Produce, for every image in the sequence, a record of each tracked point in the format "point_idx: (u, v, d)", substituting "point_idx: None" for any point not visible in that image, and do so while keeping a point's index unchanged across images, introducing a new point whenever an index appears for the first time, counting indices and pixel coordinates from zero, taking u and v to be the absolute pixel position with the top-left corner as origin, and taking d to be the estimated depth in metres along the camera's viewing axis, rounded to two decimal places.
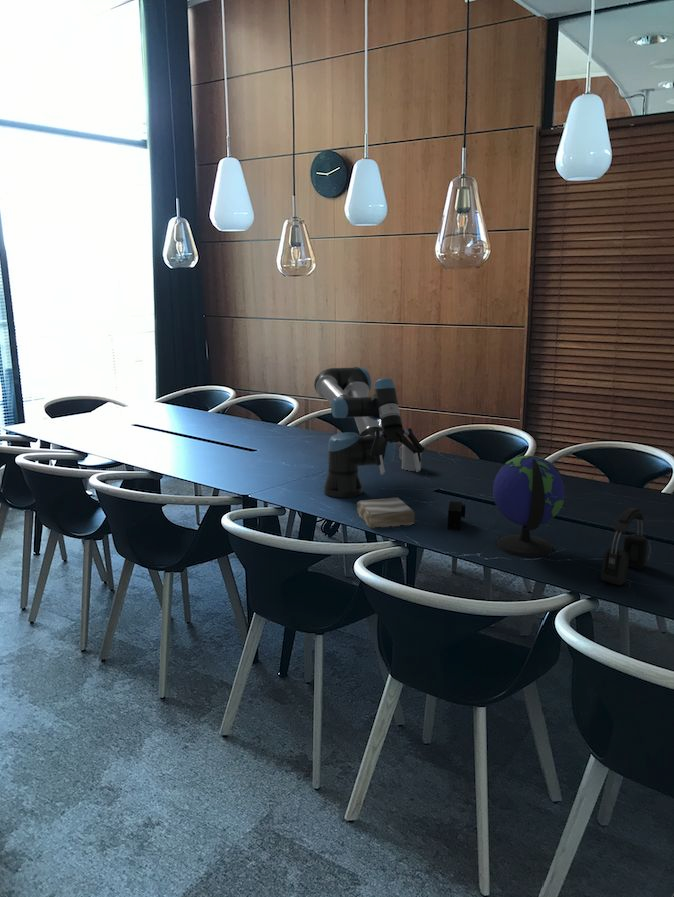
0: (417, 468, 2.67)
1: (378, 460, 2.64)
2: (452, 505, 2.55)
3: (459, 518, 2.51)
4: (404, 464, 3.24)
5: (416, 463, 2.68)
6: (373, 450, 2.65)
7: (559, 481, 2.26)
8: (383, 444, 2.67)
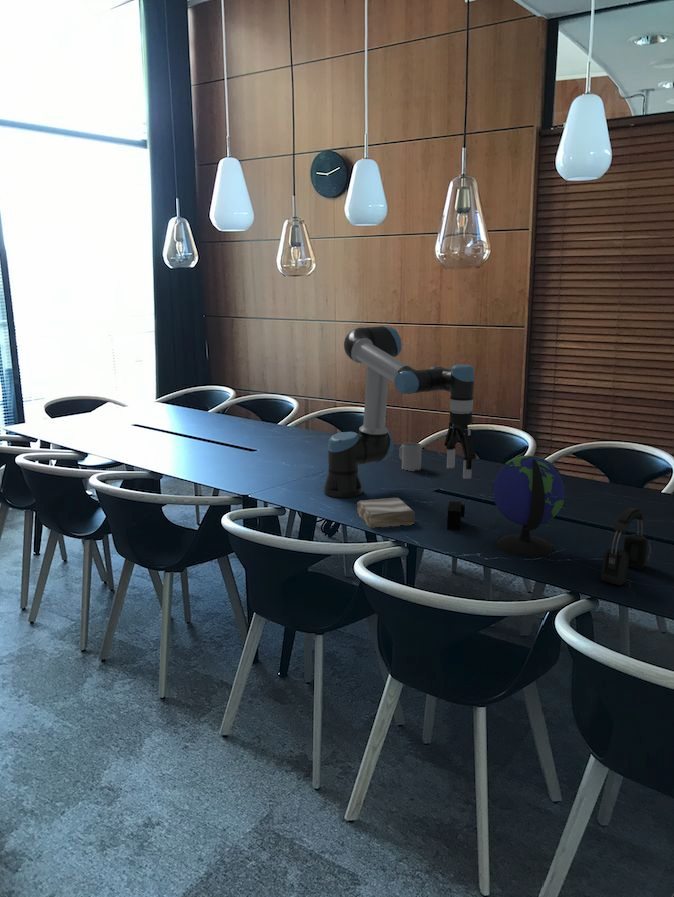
0: (451, 465, 2.58)
1: None
2: (452, 505, 2.55)
3: (459, 518, 2.51)
4: (404, 464, 3.24)
5: (452, 460, 2.57)
6: None
7: (559, 481, 2.26)
8: None
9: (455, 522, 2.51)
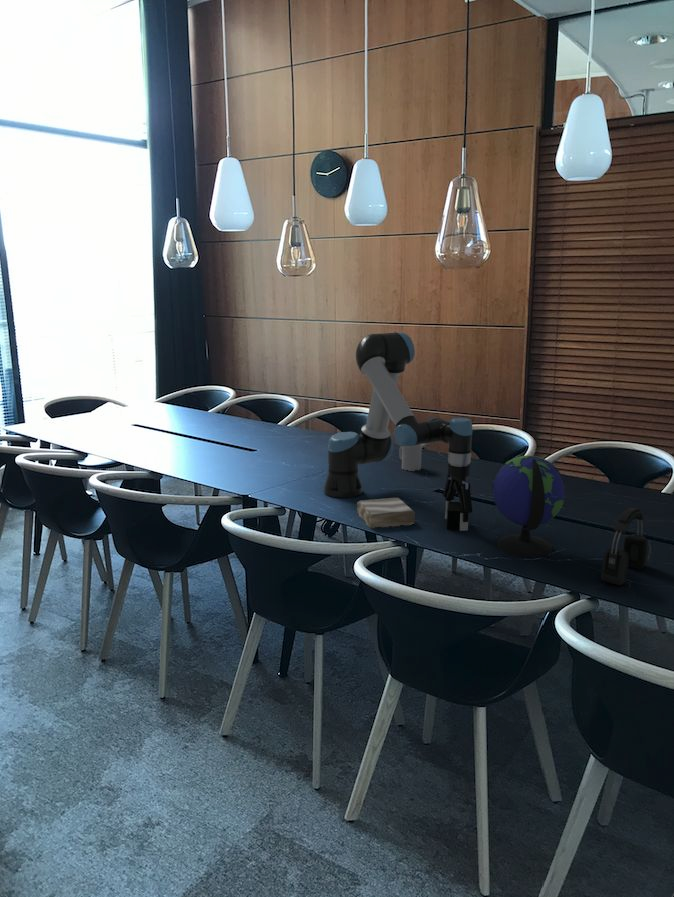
0: None
1: None
2: (451, 505, 2.55)
3: (459, 518, 2.50)
4: (404, 464, 3.24)
5: None
6: None
7: (559, 481, 2.26)
8: None
9: (455, 522, 2.51)
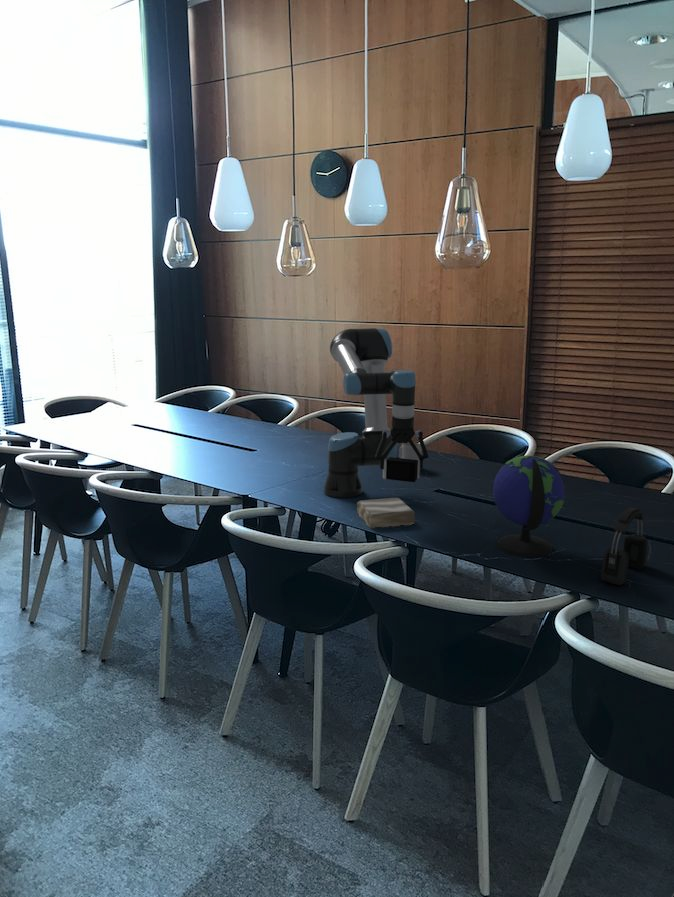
0: None
1: None
2: (401, 460, 2.54)
3: (417, 467, 2.56)
4: None
5: None
6: None
7: (559, 481, 2.26)
8: None
9: (416, 472, 2.55)
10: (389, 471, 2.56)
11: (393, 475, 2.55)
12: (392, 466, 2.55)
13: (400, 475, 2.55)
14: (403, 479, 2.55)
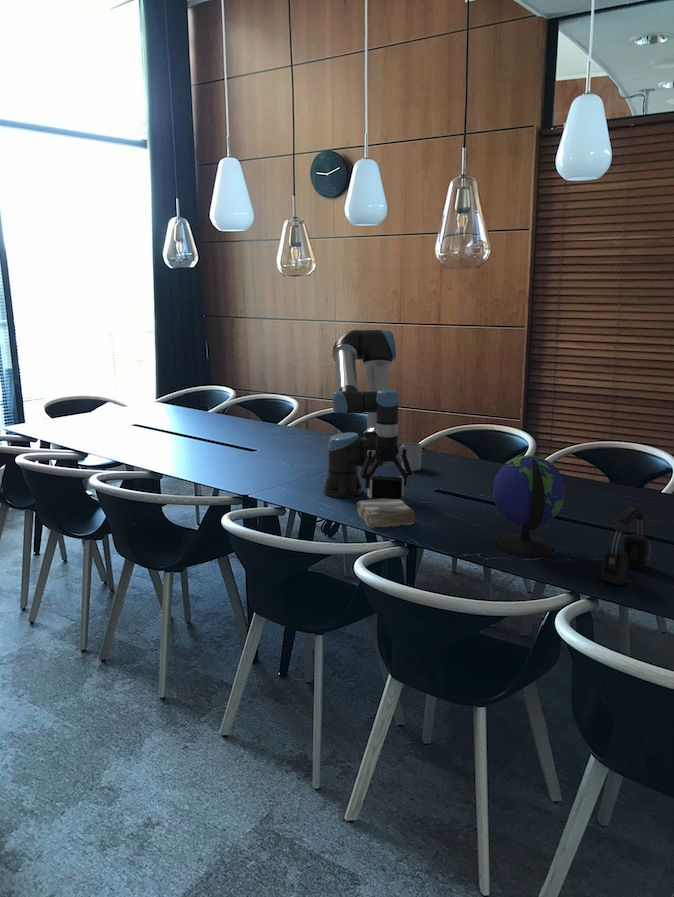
0: None
1: None
2: (386, 478, 2.57)
3: None
4: None
5: None
6: None
7: (559, 481, 2.26)
8: None
9: (401, 489, 2.58)
10: (375, 490, 2.57)
11: (378, 493, 2.57)
12: (378, 485, 2.56)
13: (386, 493, 2.57)
14: (389, 497, 2.57)
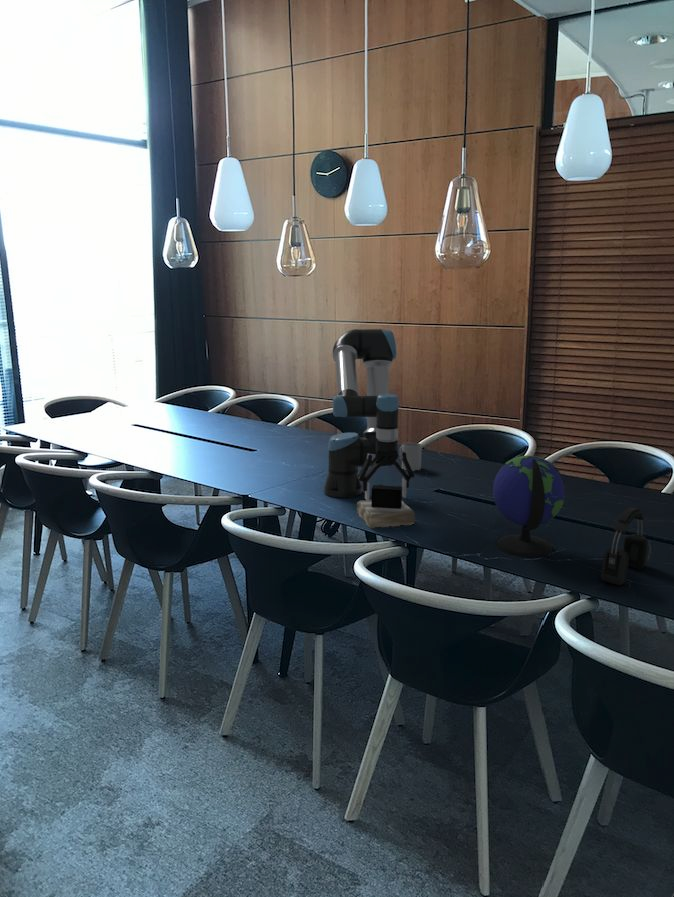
0: None
1: None
2: (386, 488, 2.58)
3: None
4: None
5: None
6: None
7: (559, 481, 2.26)
8: None
9: (401, 498, 2.59)
10: (375, 499, 2.58)
11: (378, 502, 2.58)
12: (378, 494, 2.58)
13: (386, 502, 2.58)
14: (389, 506, 2.58)
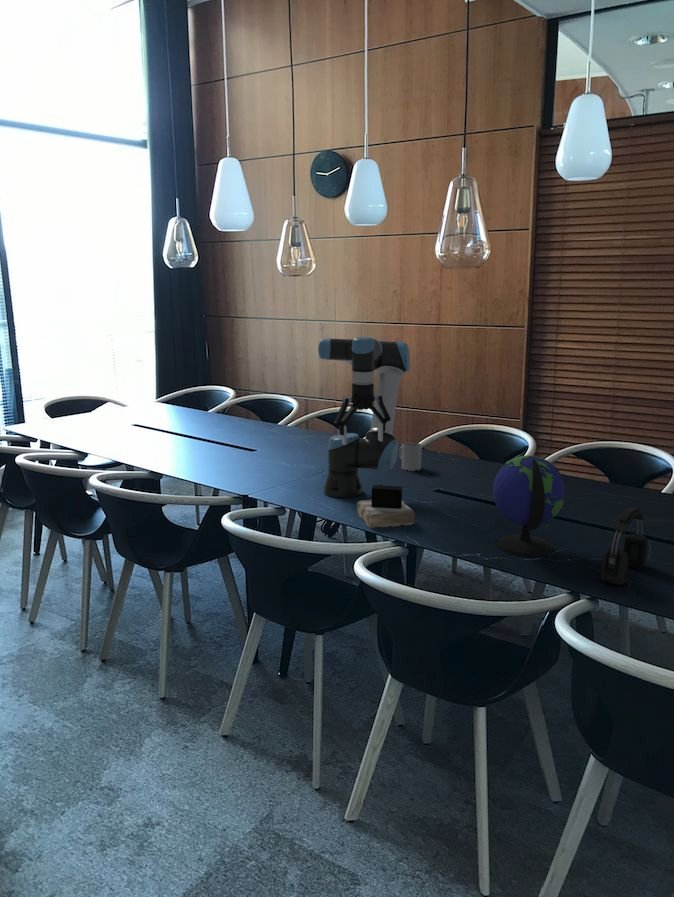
0: None
1: None
2: (386, 488, 2.58)
3: None
4: (404, 464, 3.24)
5: None
6: None
7: (559, 481, 2.26)
8: None
9: (401, 498, 2.59)
10: (375, 499, 2.58)
11: (378, 502, 2.58)
12: (378, 494, 2.58)
13: (386, 502, 2.58)
14: (389, 506, 2.58)
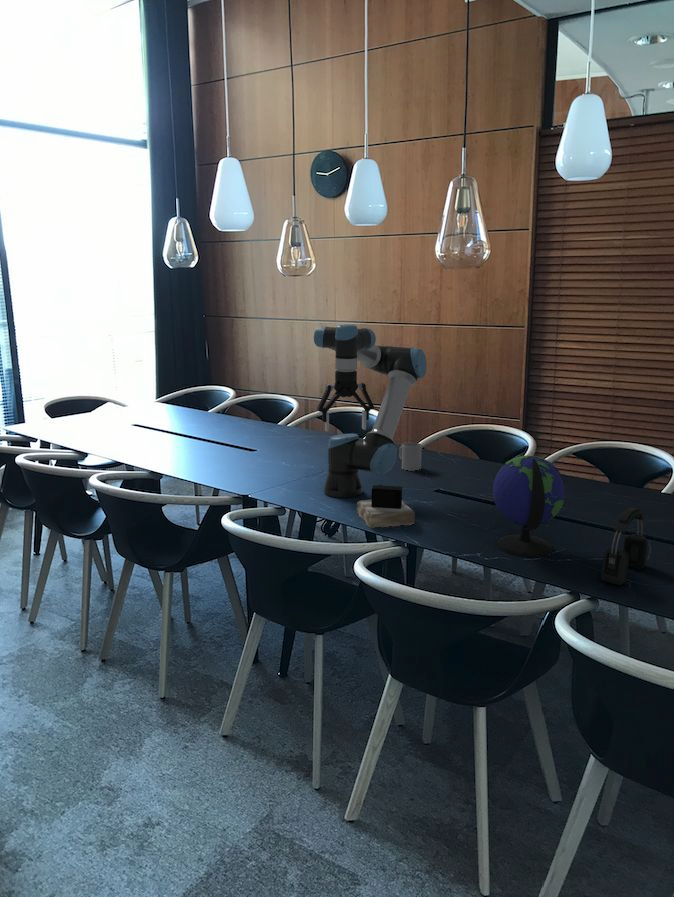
0: None
1: None
2: (386, 488, 2.58)
3: None
4: (404, 464, 3.24)
5: None
6: None
7: (559, 481, 2.26)
8: None
9: (401, 498, 2.59)
10: (375, 499, 2.58)
11: (378, 502, 2.58)
12: (378, 494, 2.58)
13: (386, 502, 2.58)
14: (389, 506, 2.58)
